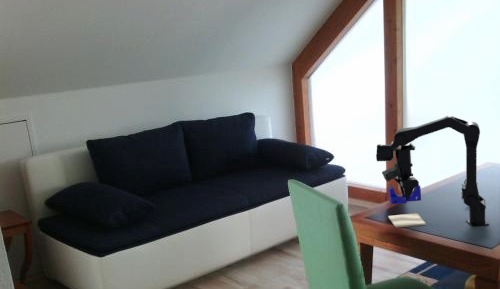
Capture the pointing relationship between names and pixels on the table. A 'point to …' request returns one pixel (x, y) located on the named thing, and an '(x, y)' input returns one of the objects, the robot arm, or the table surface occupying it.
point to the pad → (406, 220)
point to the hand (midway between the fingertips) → (405, 197)
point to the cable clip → (401, 199)
